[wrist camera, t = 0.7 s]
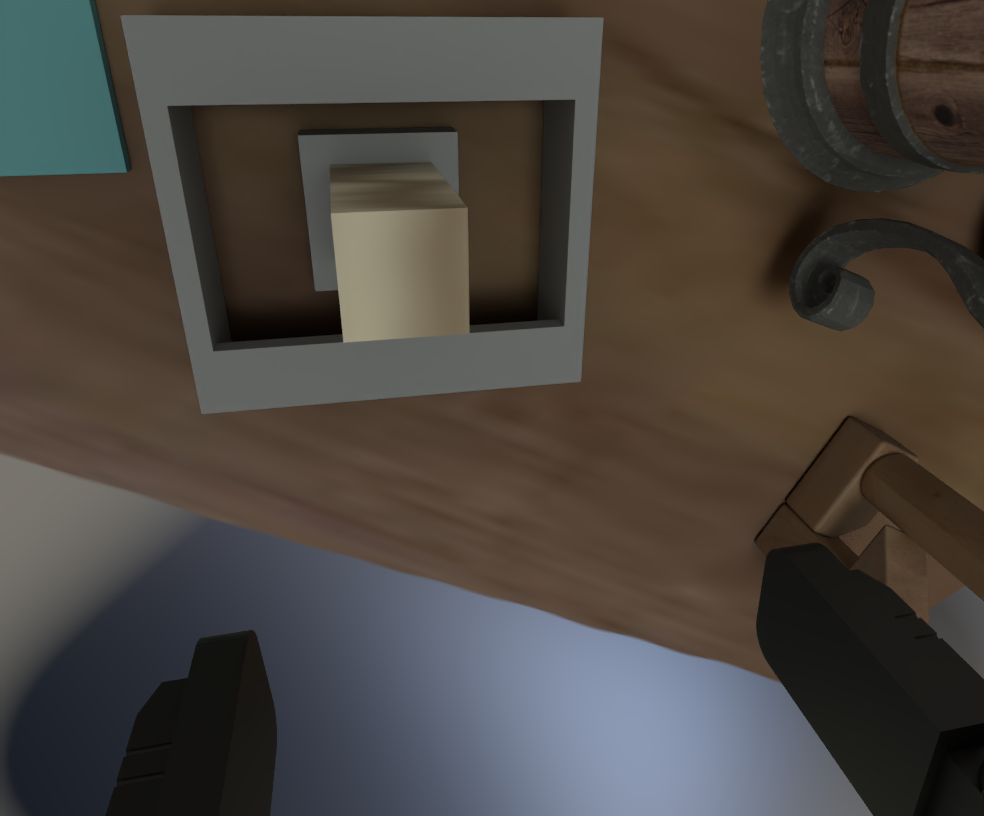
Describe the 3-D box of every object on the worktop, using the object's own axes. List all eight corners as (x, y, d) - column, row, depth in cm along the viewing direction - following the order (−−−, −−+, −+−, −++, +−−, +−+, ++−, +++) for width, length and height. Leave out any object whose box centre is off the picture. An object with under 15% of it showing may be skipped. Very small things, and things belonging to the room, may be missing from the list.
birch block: (339, 264, 34) (343, 342, 26) (330, 164, 32) (330, 213, 24) (434, 259, 35) (469, 333, 26) (430, 161, 33) (467, 207, 24)
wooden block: (751, 541, 51) (941, 769, 35) (847, 413, 47) (1106, 602, 31) (789, 555, 52) (988, 781, 36) (885, 431, 49) (1151, 622, 33)
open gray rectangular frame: (216, 369, 38) (201, 414, 33) (150, 17, 30) (120, 15, 26) (553, 344, 41) (580, 381, 36) (567, 19, 33) (603, 17, 29)
